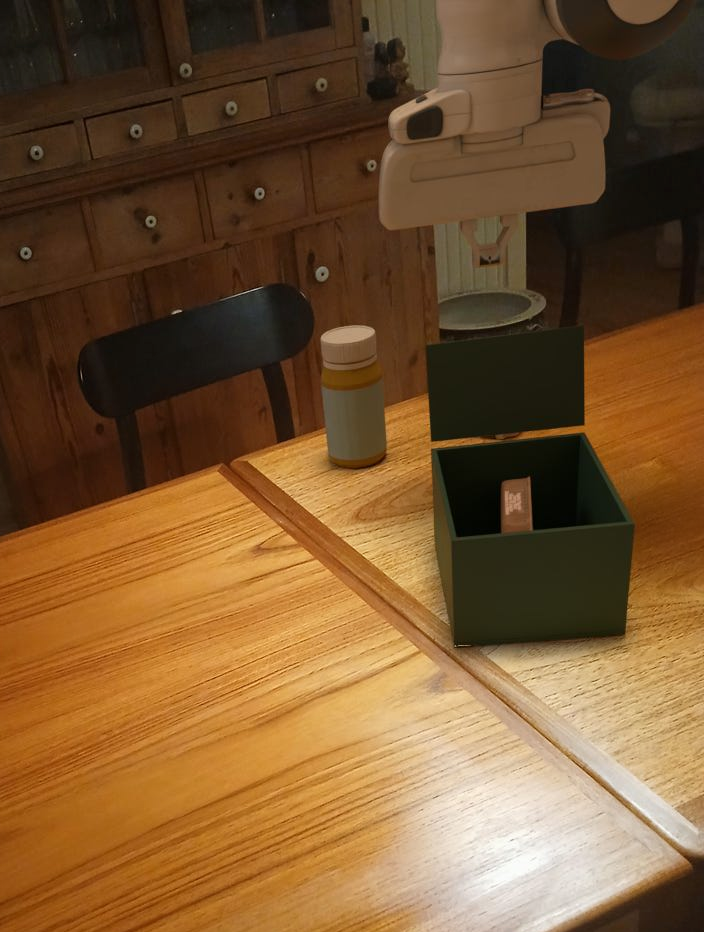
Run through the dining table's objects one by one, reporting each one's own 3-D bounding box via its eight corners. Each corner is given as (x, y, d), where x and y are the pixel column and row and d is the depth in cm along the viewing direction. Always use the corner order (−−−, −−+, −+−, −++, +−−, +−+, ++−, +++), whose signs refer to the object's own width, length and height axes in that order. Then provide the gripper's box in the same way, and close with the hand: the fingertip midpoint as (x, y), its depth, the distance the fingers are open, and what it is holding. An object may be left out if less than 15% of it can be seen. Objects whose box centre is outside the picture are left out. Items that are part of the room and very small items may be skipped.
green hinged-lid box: (454, 647, 84) (451, 540, 78) (434, 545, 99) (430, 448, 93) (625, 634, 82) (635, 523, 76) (579, 531, 97) (584, 432, 91)
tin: (538, 627, 84) (540, 541, 79) (500, 627, 85) (500, 542, 80) (534, 540, 96) (536, 461, 91) (500, 541, 97) (501, 462, 92)
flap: (425, 344, 90) (425, 344, 90) (431, 442, 93) (430, 441, 93) (584, 325, 88) (583, 325, 88) (584, 425, 90) (583, 424, 91)
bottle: (324, 451, 122) (311, 331, 113) (379, 441, 122) (371, 320, 113) (334, 474, 116) (322, 349, 108) (393, 463, 116) (385, 337, 108)
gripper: (603, 81, 88) (593, 242, 95) (372, 116, 91) (381, 270, 98) (621, 88, 83) (609, 259, 90) (375, 125, 86) (384, 287, 93)
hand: (488, 265), depth 94 cm, fingers closed
